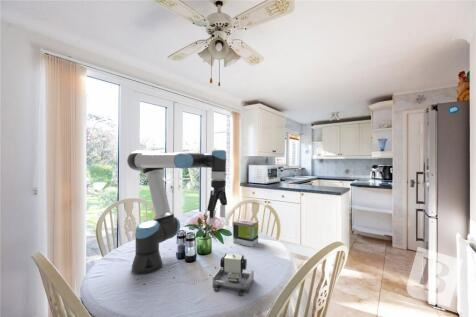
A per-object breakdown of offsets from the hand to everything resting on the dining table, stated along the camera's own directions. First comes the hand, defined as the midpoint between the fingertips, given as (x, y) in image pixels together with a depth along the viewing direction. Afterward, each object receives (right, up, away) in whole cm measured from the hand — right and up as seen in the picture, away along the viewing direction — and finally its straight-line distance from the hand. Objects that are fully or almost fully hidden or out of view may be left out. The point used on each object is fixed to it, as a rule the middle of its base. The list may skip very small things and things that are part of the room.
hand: (217, 220), depth 112 cm
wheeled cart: (+8, -26, -13) cm, 30 cm away
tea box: (+16, -26, +38) cm, 49 cm away
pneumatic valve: (+9, -25, -11) cm, 28 cm away
